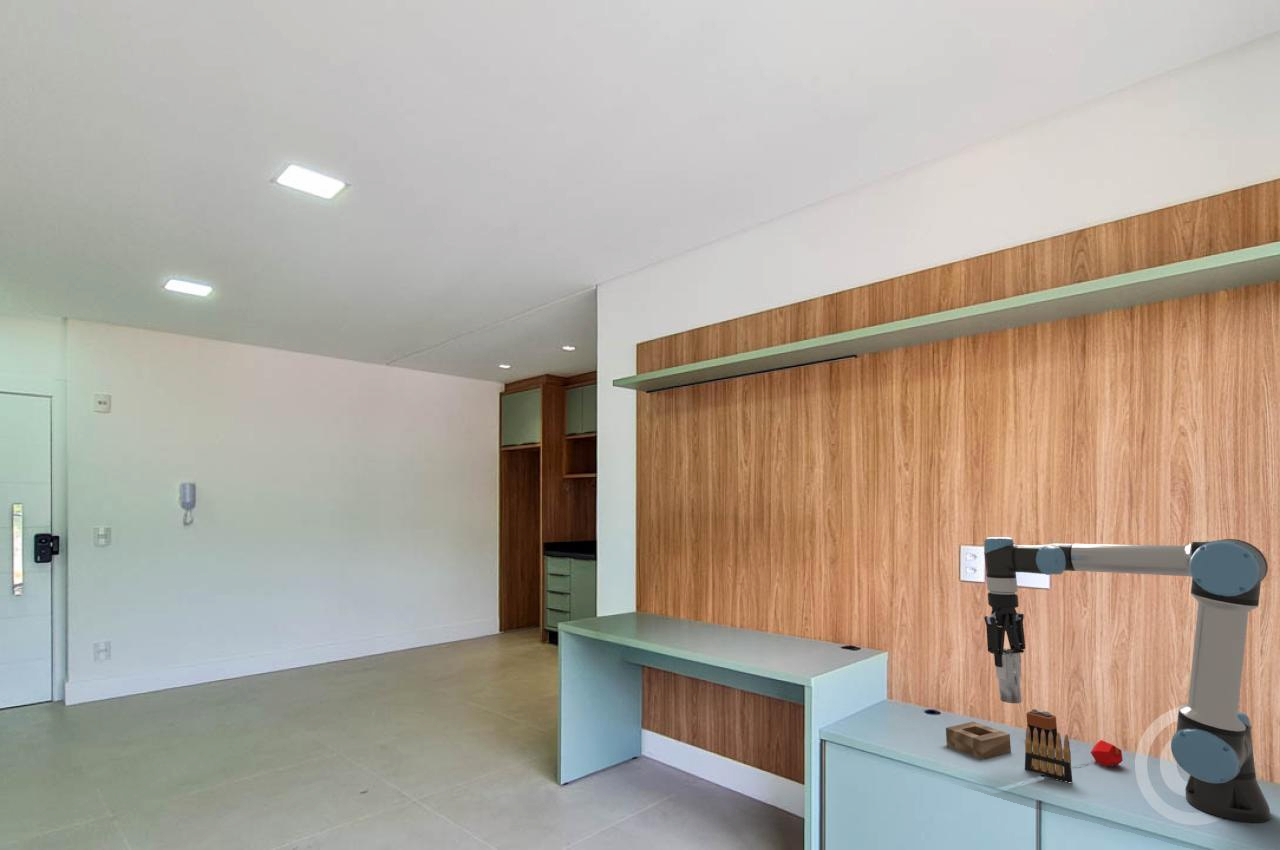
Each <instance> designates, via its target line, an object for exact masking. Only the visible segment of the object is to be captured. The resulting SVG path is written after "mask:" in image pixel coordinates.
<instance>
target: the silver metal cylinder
mask: <svg viewBox="0 0 1280 850" xmlns="http://www.w3.org/2000/svg"><path fill="white" fill-rule="evenodd" d="M1003 655H1005V656H1006V669H1007V680H1003V679H999V678H998V689H999V690H998V691H999V699H1000V701H1001V702H1004V703H1008V704H1021V703H1022V691H1021V680H1020V678H1021V677H1019V664H1018V653H1017V652H1014V651H1012V650H1011V648H1005V647H1004V649H1003Z"/></svg>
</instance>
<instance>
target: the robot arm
mask: <svg viewBox="0 0 1280 850" xmlns="http://www.w3.org/2000/svg"><path fill="white" fill-rule="evenodd" d="M983 543H984V544H983V545H984V548H983V549H984V552H983V555H984V565H985V572H986V573H985V575H986V585H987V586H986V587H987V588H986V590H987V591H988V592H987V603H988V606H989V607H991V614H990V615H989V616H988V615H985V616H984V622H985V625H986V628H985V630H986V641H987V642H986V643H987V651H988V653H990V654H993V659H994V666H995V675H996V679H998V680H999V679H1003V680H1007V669H1006V656H1005V655H1003V649H1004V648H1005V647H1004V646H1005V636H1007V641H1008V644H1009V649H1011V650H1012V651H1014V652H1017V653H1018V664H1019V677H1020V678H1022V668H1021V663H1022V662H1021V654H1024V653H1025V649H1026V641H1025V629H1024V617H1025V616H1024V613H1020V612H1017V610H1016V609H1017V608H1018V607H1019V595H1018V594H1017V592H1018V583H1017V582H1018V580H1017V573H1027V574H1040V575H1047V576H1052V575H1062V574H1063V573H1064V571H1065V572H1089V573H1090V572H1091V573H1092V572H1093V573H1111V574H1113V573H1114V574H1115V573H1116V574H1117V573H1118V574H1135V575H1154V576H1155V575H1156V576H1176V577H1178V576H1179V577H1191V585H1190V586H1191V588H1190V595H1191V596H1192V597H1193V598H1194V600H1195V601H1196V602H1198V605H1197V612H1196V613H1197V614H1196V621H1195V622H1196V624H1195V632H1194V633H1195V634H1194V642H1193V652H1192V662H1191V670H1190V681H1189V689H1188V690H1189V691H1188V700H1187V703H1186V704H1183V705H1182V706H1180V707H1179V708H1178V713H1177V722H1176V723H1177V724H1176V731H1175V733H1174V734H1173V735H1172V737H1171V740H1170V750H1171V753H1172V756H1173V758H1174V760H1175V761H1176V763H1177V764H1178V765H1179V767H1180V768H1181V769H1182V770H1183V771H1184V772H1186V773H1187V774H1188V775H1189V776H1188V779H1187V783H1186V785H1185V789H1184V790H1185V800H1186V801H1187V803H1188V804H1190V805H1191V806H1193V807H1194V808H1196V809H1198V810H1200V811H1201V812H1205V813H1207V814H1210V815H1212V816H1216V817H1219V818H1223V819H1227V820H1230V821H1231V820H1232V821H1238V822H1243V823H1244V822H1246V823H1264V822H1265V823H1266V822H1268V821H1269V820H1270V819H1271V810H1270V809H1271V808H1270V805H1269V804H1268V801H1267V799H1266V797H1265V795H1264V793H1263V791H1262V790H1261V789H1262V788H1261V787H1260V785H1259V783H1258V781H1257V775H1256V774H1257V773H1256V764H1255V758H1254V757H1255V756H1254V748H1253V738H1252V729H1253V728H1252V725H1251V722H1250V717H1249V716H1248V715H1247V714H1246V713H1244V712H1242V711H1239V703H1240V698H1241V697H1240V695H1241V687H1242V675H1243V666H1244V658H1245V657H1244V656H1245V647H1246V638H1247V630H1248V629H1247V628H1248V620H1249V619H1248V618H1249V612H1251V611H1252V610H1255V609H1257V608H1259V604H1260V603H1259V602H1260V596H1261V595H1260V593H1261V584H1262V582H1263V580H1264V579H1265V578H1266V576H1267V574H1268V571H1269V570H1268V568H1269V564H1268V562H1267V559H1266V556H1265V555H1264V553H1263V552H1262V551H1261V550H1260V549H1259V548H1258V547H1256V546H1255V545H1253V544H1252V543H1249V542H1247V541H1245V540H1241V539H1235V538H1225V539H1219V540H1213V541H1211V540H1210V541H1192V542H1190V543H1189V544H1187V545H1163V544H1162V545H1161V544H1159V545H1158V544H1156V545H1154V544H1152V545H1151V544H1111V543H1110V544H1106V543H1105V544H1103V543H1101V544H1100V543H1062V542H1050V543H1048V544H1047V543H1045V544H1038V545H1019V544H1015V542H1014V539H1013V538H1012V537H1005V536H1004V537H1001V536H998V537H997V536H995V537H994V536H991V537H986V538H985V539H984V542H983Z"/></svg>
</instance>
